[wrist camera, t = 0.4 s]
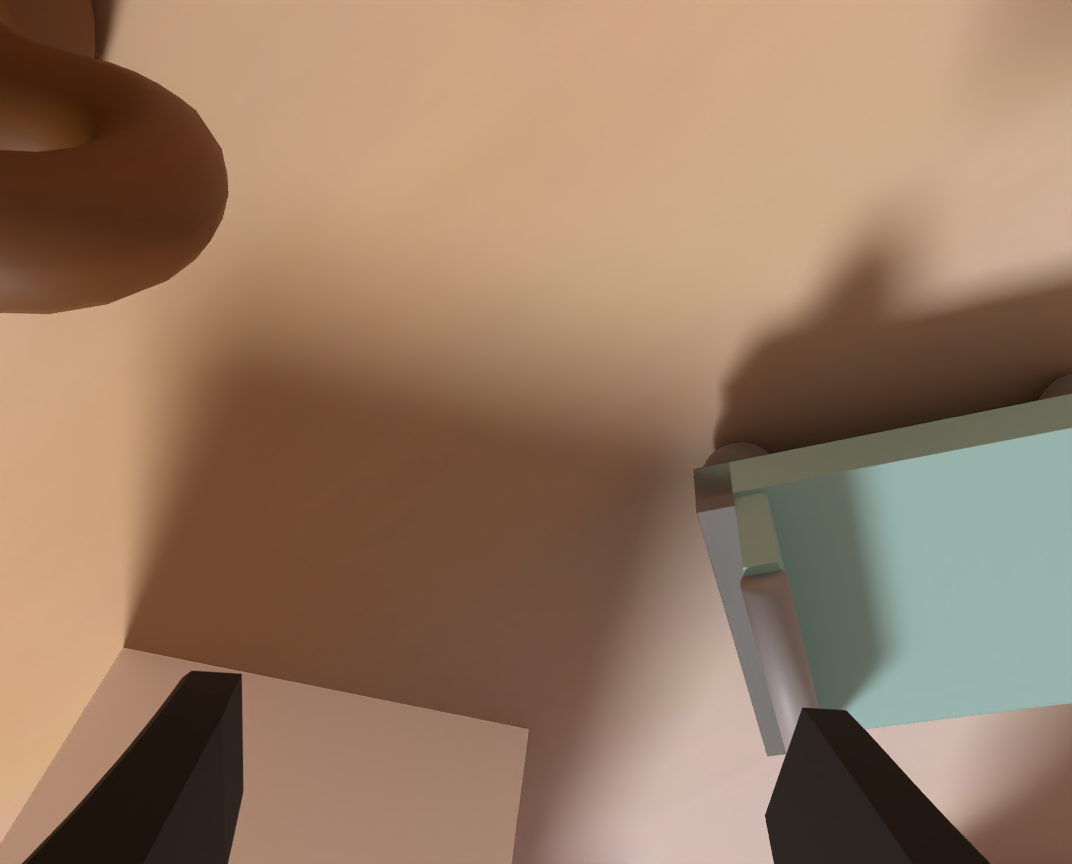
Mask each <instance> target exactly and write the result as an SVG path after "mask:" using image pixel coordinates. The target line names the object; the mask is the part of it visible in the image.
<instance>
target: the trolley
mask: <svg viewBox="0 0 1072 864" xmlns="http://www.w3.org/2000/svg"><path fill="white" fill-rule="evenodd" d="M694 480H695V495H696V510H697V516H698V519H699V523H700V526H701V529H702V533H703V536H704V540H705V543H706V547H707V550H708V554H709V557H710V560H711V564H712V567H713V571H714V574H715V578H716V581H717V584H718V588H719V591H720V595H721V598H722V602H723V605H724V609H725V612H726V615H727V619H728V622H729V626H730V629H731V633H732V636H733V639H734V643H735V646H736V650H737V653H738V657H739V660H740V664H741V667H742V670H743V674H744V677H745V681H746V684H747V688H748V691H749V694H750V698H751V701H752V705H753V708H754V712H755V715H756V719H757V722H758V725H759V729H760V732H761V736H762V739H763V743H764V746H765V749H766V753H767V756H774V755H782V754H786V753H787V750H788V747H789V745H790V742H791V739H792V736H793V733H794V730H795V727H796V724H797V721H798V718H799V716H800V713H801V710H802V707H803V708H819V709H836V710H847V711H848V712H849V713H850V714H851V715H852V716H853V718H854V719H855V720H856V721H857V722H858V723H859V724H860V725H861V726H862V727H863V728H864V729H870V728H878V727H886V726H893V725H901V724H909V723H917V722H925V721H933V720H941V719H949V718H957V717H965V716H973V715H981V714H989V713H997V712H1005V711H1013V710H1021V709H1029V708H1037V707H1044V706H1052V705H1060V704H1068V703H1072V374H1068V375H1065V376H1063V377H1061V378H1059V379H1057V380H1056V381H1054V382H1053V383H1051V384H1050V385H1049V386H1048V387H1047V388H1046V389H1045V391H1044V392H1043V393H1042V395H1041V396H1040V398H1039V400H1038V401H1033V402H1028V403H1023V404H1018V405H1013V406H1008V407H1003V408H998V409H993V410H988V411H983V412H978V413H973V414H968V415H963V416H958V417H953V418H948V419H943V420H938V421H933V422H928V423H923V424H918V425H913V426H908V427H903V428H898V429H893V430H888V431H883V432H878V433H873V434H868V435H863V436H858V437H853V438H848V439H843V440H838V441H833V442H828V443H823V444H818V445H813V446H808V447H803V448H798V449H793V450H788V451H783V452H778V453H773V454H769V453H768V452H767V451H766V450H764V449H763V448H761V447H759V446H757V445H755V444H751V443H746V442H736V443H730V444H727V445H724V446H722V447H720V448H719V449H717V450H716V451H715V452H714V453H713V454H712V455H711V456H710V457H709V458H708V460H707V461H706V463H705V465H704V467H703V468H698V469H694Z"/></svg>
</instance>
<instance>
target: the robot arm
mask: <svg viewBox="0 0 1072 864" xmlns="http://www.w3.org/2000/svg"><path fill="white" fill-rule="evenodd" d="M243 791H244V787H243V718H242V674H240V673H223V672H206V671H190V672H189V673H188V674H186V675H185V676H183V677H182V678H181V680H180V681H179V683H178V684H177V685H176V687H175V688H174V690H173V691H172V692H171V694H170V695H169V696H168V698H167V699H166V700H165V702H164V703H163V704H162V705H161V707H160V708H159V709H158V711H157V712H156V713H155V715H154V716H153V717H152V718H151V720H150V721H149V722H148V723H147V725H146V726H145V727H144V728H143V730H142V731H141V732H140V733H139V735H138V736H137V737H136V738H135V739H134V741H133V742H132V743H131V744H130V746H129V747H128V748H127V749H126V750H125V752H124V753H123V754H122V755H121V756H120V758H119V759H118V760H117V761H116V762H115V763H114V764H113V766H112V767H111V768H110V769H109V770H108V771H107V772H106V774H105V775H104V776H103V777H102V778H101V779H100V780H99V782H98V783H97V784H96V785H95V786H94V787H93V788H92V790H91V791H90V792H89V793H88V794H87V795H86V796H85V798H84V799H83V800H82V801H81V802H80V803H79V804H78V805H77V807H76V808H75V809H74V810H73V811H72V812H71V813H70V814H69V815H68V816H67V817H66V818H65V819H64V820H63V821H62V823H61V824H60V825H59V826H58V827H57V828H56V829H55V830H54V831H53V832H52V833H51V834H50V835H49V836H48V837H47V838H46V839H45V840H44V841H43V842H42V843H41V844H40V845H39V846H38V847H37V848H36V849H35V850H34V851H33V852H32V854H31V855H30V856H29V857H28V858H27V859H26V860H25V861H24V862H23V863H22V864H228V861H229V857H230V852H231V848H232V843H233V839H234V834H235V829H236V825H237V820H238V815H239V810H240V806H241V801H242V796H243ZM765 818H766V823H767V829H768V834H769V840H770V845H771V850H772V856H773V860H774V864H990V863H989V862H988V861H987V860H986V859H985V858H984V857H983V856H982V855H981V854H980V853H979V852H978V851H977V850H976V849H975V847H974V846H973V845H972V844H971V843H970V842H969V841H968V840H967V839H966V838H965V837H964V836H963V835H962V834H961V833H960V832H959V831H958V830H957V829H956V828H955V827H954V826H953V825H952V824H951V823H950V821H949V820H948V819H947V818H946V817H945V816H944V815H943V814H942V813H941V812H940V811H939V810H938V809H937V808H936V807H935V806H934V804H933V803H932V802H931V801H930V800H929V799H928V798H927V797H926V796H925V795H924V794H923V793H922V792H921V790H920V789H919V788H918V787H917V786H916V785H915V784H914V783H913V782H912V781H911V780H910V778H909V777H908V776H907V775H906V774H905V773H904V772H903V771H902V770H901V769H900V768H899V766H898V765H897V764H896V763H895V762H894V761H893V760H892V759H891V758H890V757H889V755H888V754H887V753H886V752H885V751H884V750H883V749H882V748H881V747H880V746H879V744H878V743H877V742H876V741H875V740H874V739H873V738H872V737H871V736H870V735H869V734H868V732H867V731H866V730H865V729H864V728H863V727H862V726H861V725H860V724H859V723H858V722H857V721H856V720H855V719H854V718H853V716H852V715H851V714H850V713H849V712H848V711H847V710H836V709H819V708H803V707H802V710H801V713H800V716H799V718H798V721H797V724H796V727H795V730H794V733H793V736H792V739H791V742H790V745H789V747H788V750H787V753H786V756H785V759H784V762H783V765H782V768H781V771H780V774H779V776H778V779H777V782H776V785H775V788H774V791H773V794H772V797H771V800H770V803H769V805H768V808H767V811H766V814H765Z"/></svg>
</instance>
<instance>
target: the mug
mask: <svg viewBox="0 0 1072 864" xmlns="http://www.w3.org/2000/svg"><path fill="white" fill-rule="evenodd" d="M227 198H228V180H227V171H226V167H225V162H224V158H223V153H222V149H221V147H220V146H219V144H218V143H217V141H216V140H215V138H214V137H213V135H212V134H211V132H210V131H209V129H208V128H207V126H206V125H205V123H204V122H203V120H202V119H201V117H200V116H199V114H198V113H197V111H196V110H195V109H193V108H192V107H191V106H190V105H188V104H187V103H186V102H184V101H183V100H182V99H181V98H179V97H178V96H176V95H175V94H173V93H172V92H170V91H169V90H167V89H166V88H164V87H162V86H161V85H159V84H158V83H156V82H154V81H152V80H150V79H148V78H146V77H144V76H142V75H140V74H138V73H136V72H134V71H131V70H128V69H126V68H123V67H121V66H118V65H115V64H113V63H109V62H106V61H103V60H99V59H96V58H95V21H94V13H93V6H92V0H0V313H30V314H52V313H58V312H64V311H70V310H76V309H82V308H88V307H93V306H99V305H105V304H109V303H111V302H114V301H117V300H119V299H122V298H124V297H127V296H129V295H132V294H134V293H137V292H139V291H142V290H144V289H147V288H150V287H152V286H155V285H157V284H160V283H162V282H165V281H167V280H169V279H170V278H171V277H173V276H174V275H175V274H177V273H178V272H179V271H181V270H182V269H183V268H185V267H186V266H187V265H189V264H190V263H191V262H193V261H194V260H195V259H196V258H197V257H198V256H199V254H200V253H201V252H202V251H203V249H204V248H205V247H206V246H207V244H208V243H209V242H210V241H211V239H212V237H213V235H214V233H215V232H216V230H217V228H218V226H219V224H220V222H221V221H222V219H223V215H224V210H225V206H226V202H227Z"/></svg>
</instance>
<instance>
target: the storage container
mask: <svg viewBox="0 0 1072 864" xmlns="http://www.w3.org/2000/svg"><path fill="white" fill-rule="evenodd" d="M190 671H206V672H223V673H240V674H242V718H243V787H244V791H243V796H242V801H241V806H240V810H239V815H238V820H237V825H236V829H235V834H234V839H233V843H232V848H231V852H230V857H229V861H228V864H512V857H513V849H514V842H515V834H516V826H517V819H518V811H519V803H520V796H521V788H522V780H523V772H524V765H525V757H526V749H527V742H528V734H529V729H526V728H521V727H516V726H511V725H506V724H501V723H496V722H491V721H486V720H481V719H476V718H471V717H466V716H461V715H456V714H451V713H446V712H441V711H436V710H431V709H426V708H421V707H416V706H411V705H406V704H401V703H397V702H392V701H387V700H382V699H377V698H372V697H367V696H362V695H357V694H352V693H347V692H342V691H337V690H332V689H327V688H322V687H317V686H312V685H307V684H302V683H297V682H292V681H287V680H282V679H277V678H272V677H267V676H262V675H257V674H253V673H248V672H243V671H238V670H233V669H228V668H223V667H218V666H213V665H208V664H203V663H198V662H193V661H188V660H183V659H178V658H173V657H168V656H163V655H158V654H153V653H148V652H143V651H138V650H133V649H128V648H123V649H122V650H121V652H120V653H119V655H118V657H117V658H116V660H115V661H114V663H113V665H112V666H111V668H110V669H109V671H108V673H107V674H106V676H105V677H104V679H103V681H102V682H101V684H100V685H99V687H98V689H97V690H96V692H95V693H94V695H93V697H92V698H91V700H90V701H89V703H88V705H87V706H86V708H85V709H84V711H83V712H82V714H81V716H80V717H79V719H78V720H77V722H76V724H75V725H74V727H73V728H72V730H71V732H70V733H69V735H68V736H67V738H66V740H65V741H64V743H63V744H62V746H61V748H60V749H59V751H58V752H57V754H56V756H55V757H54V759H53V760H52V762H51V764H50V765H49V767H48V768H47V770H46V772H45V773H44V775H43V776H42V778H41V780H40V781H39V783H38V784H37V786H36V788H35V789H34V791H33V792H32V794H31V796H30V797H29V799H28V800H27V802H26V804H25V805H24V807H23V808H22V810H21V812H20V813H19V815H18V816H17V818H16V820H15V821H14V823H13V824H12V826H11V828H10V829H9V831H8V832H7V834H6V836H5V837H4V839H3V840H2V842H1V844H0V864H22V863H23V862H24V861H25V860H26V859H27V858H28V857H29V856H30V855H31V854H32V852H33V851H34V850H35V849H36V848H37V847H38V846H39V845H40V844H41V843H42V842H43V841H44V840H45V839H46V838H47V837H48V836H49V835H50V834H51V833H52V832H53V831H54V830H55V829H56V828H57V827H58V826H59V825H60V824H61V823H62V821H63V820H64V819H65V818H66V817H67V816H68V815H69V814H70V813H71V812H72V811H73V810H74V809H75V808H76V807H77V805H78V804H79V803H80V802H81V801H82V800H83V799H84V798H85V796H86V795H87V794H88V793H89V792H90V791H91V790H92V788H93V787H94V786H95V785H96V784H97V783H98V782H99V780H100V779H101V778H102V777H103V776H104V775H105V774H106V772H107V771H108V770H109V769H110V768H111V767H112V766H113V764H114V763H115V762H116V761H117V760H118V759H119V758H120V756H121V755H122V754H123V753H124V752H125V750H126V749H127V748H128V747H129V746H130V744H131V743H132V742H133V741H134V739H135V738H136V737H137V736H138V735H139V733H140V732H141V731H142V730H143V728H144V727H145V726H146V725H147V723H148V722H149V721H150V720H151V718H152V717H153V716H154V715H155V713H156V712H157V711H158V709H159V708H160V707H161V705H162V704H163V703H164V702H165V700H166V699H167V698H168V696H169V695H170V694H171V692H172V691H173V690H174V688H175V687H176V685H177V684H178V683H179V681H180V680H181V678H182V677H183V676H185V675H186V674H188V673H189V672H190Z"/></svg>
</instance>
